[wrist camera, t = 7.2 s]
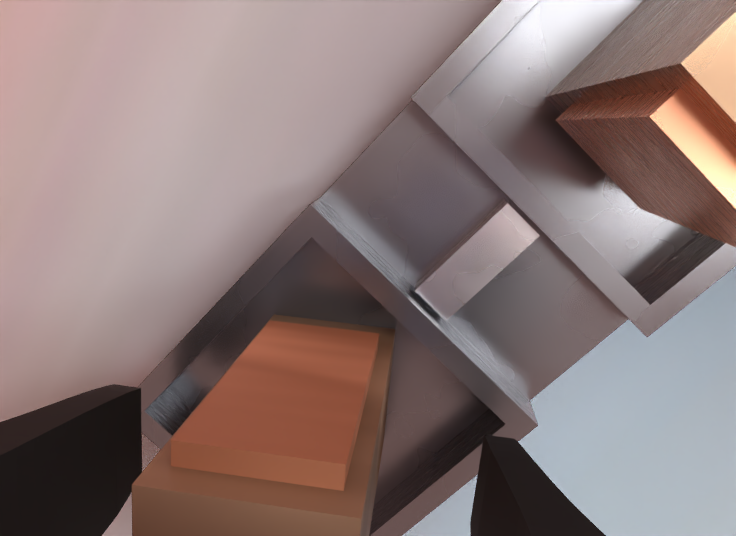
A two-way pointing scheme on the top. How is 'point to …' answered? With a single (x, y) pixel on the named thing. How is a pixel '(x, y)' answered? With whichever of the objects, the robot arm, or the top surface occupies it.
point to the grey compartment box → (503, 229)
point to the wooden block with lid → (278, 439)
